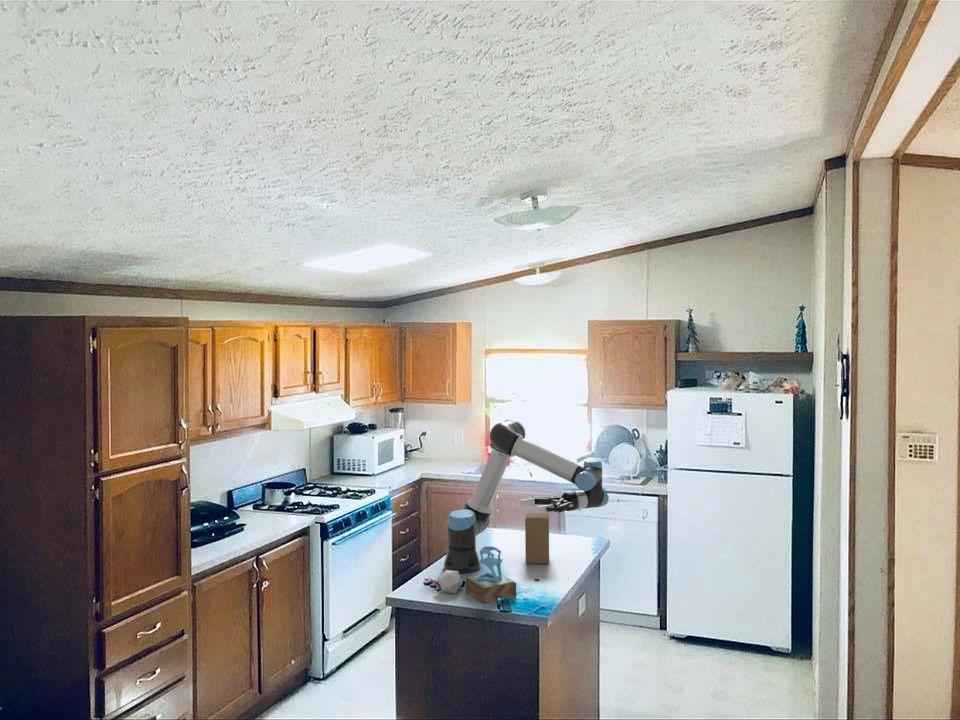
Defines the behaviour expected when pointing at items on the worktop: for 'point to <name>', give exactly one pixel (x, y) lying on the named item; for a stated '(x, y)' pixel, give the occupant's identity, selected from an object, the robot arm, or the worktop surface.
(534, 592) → the worktop surface
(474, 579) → the base block
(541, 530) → the block
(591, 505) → the robot arm
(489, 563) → the chair
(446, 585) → the die
